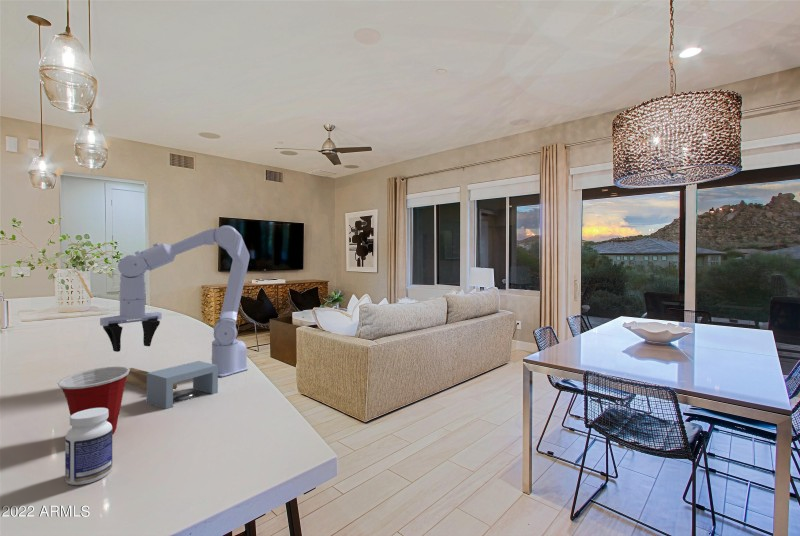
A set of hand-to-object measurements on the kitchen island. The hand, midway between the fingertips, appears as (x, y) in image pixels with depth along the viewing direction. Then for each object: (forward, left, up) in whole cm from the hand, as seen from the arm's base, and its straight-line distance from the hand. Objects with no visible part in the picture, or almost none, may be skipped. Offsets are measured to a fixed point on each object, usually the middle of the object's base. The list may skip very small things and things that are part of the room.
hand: (132, 348), depth 105 cm
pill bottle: (+28, +45, -10) cm, 53 cm away
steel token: (0, +24, -10) cm, 25 cm away
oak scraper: (0, +7, -9) cm, 11 cm away
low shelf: (0, +24, -9) cm, 25 cm away
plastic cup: (+21, +30, -10) cm, 37 cm away
